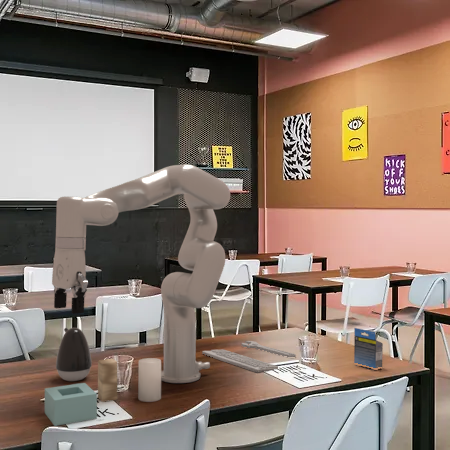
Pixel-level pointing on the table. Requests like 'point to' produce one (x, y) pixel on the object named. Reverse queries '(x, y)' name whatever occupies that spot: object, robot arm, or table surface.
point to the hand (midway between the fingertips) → (68, 310)
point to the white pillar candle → (149, 380)
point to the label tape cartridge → (367, 349)
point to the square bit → (107, 380)
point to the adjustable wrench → (267, 349)
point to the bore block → (70, 404)
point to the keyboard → (240, 360)
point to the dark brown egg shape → (73, 356)
